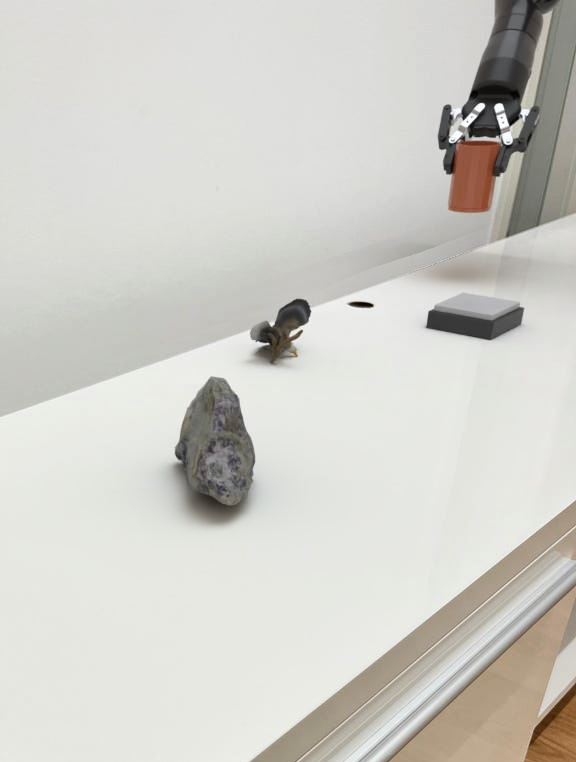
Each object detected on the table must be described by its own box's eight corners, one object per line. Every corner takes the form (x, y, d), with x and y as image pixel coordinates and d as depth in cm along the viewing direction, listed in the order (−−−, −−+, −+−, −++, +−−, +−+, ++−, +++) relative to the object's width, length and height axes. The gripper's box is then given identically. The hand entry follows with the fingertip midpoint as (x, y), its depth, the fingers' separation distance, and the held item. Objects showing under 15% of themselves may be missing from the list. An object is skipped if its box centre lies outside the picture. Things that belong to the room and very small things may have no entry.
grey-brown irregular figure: (319, 357, 125) (324, 323, 132) (290, 309, 122) (296, 277, 128) (265, 385, 130) (272, 351, 136) (235, 340, 126) (244, 307, 133)
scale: (521, 324, 139) (525, 301, 137) (490, 339, 134) (494, 316, 132) (457, 312, 144) (461, 291, 143) (425, 327, 139) (429, 304, 137)
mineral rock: (230, 525, 90) (236, 415, 85) (124, 501, 95) (123, 395, 89) (287, 473, 99) (295, 371, 94) (187, 453, 104) (190, 355, 99)
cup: (498, 207, 155) (508, 141, 150) (479, 214, 151) (489, 147, 146) (459, 203, 158) (468, 139, 153) (439, 210, 154) (448, 144, 150)
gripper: (452, 55, 152) (420, 153, 150) (555, 54, 146) (523, 156, 144) (455, 92, 159) (425, 186, 157) (553, 92, 153) (523, 191, 151)
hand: (472, 171), depth 150 cm, fingers closed on cup, 6 cm apart
